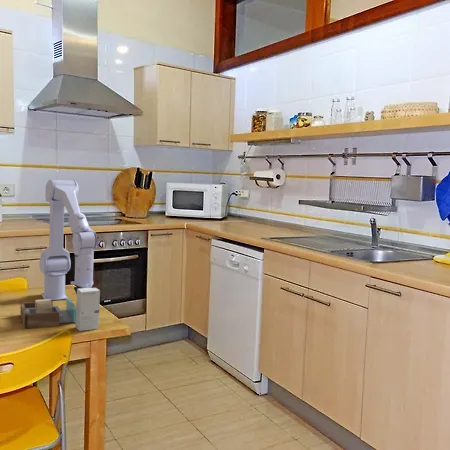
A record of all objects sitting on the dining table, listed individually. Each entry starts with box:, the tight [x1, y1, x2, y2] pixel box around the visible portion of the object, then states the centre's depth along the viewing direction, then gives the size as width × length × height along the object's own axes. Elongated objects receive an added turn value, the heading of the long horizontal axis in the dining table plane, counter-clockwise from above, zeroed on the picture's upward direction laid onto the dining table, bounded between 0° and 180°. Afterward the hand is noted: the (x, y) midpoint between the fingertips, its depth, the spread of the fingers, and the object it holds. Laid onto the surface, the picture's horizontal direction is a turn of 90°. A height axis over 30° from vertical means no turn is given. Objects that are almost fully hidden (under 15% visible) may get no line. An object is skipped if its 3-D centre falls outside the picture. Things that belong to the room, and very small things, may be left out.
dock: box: [20, 300, 60, 329], centre depth 153 cm, size 14×10×4 cm
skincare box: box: [75, 287, 101, 332], centre depth 148 cm, size 6×4×12 cm
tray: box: [26, 297, 76, 324], centre depth 154 cm, size 13×14×4 cm
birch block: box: [34, 299, 52, 313], centre depth 153 cm, size 4×4×5 cm
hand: (83, 308), depth 159 cm, fingers closed
